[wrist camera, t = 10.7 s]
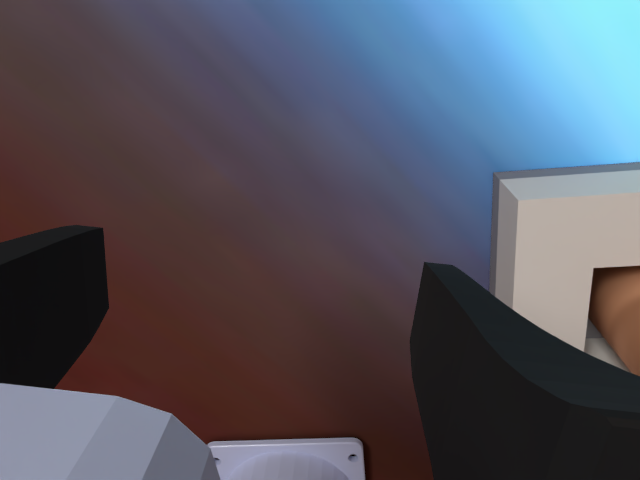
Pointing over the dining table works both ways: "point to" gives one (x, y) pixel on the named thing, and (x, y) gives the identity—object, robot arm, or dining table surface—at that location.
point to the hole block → (563, 244)
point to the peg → (618, 311)
